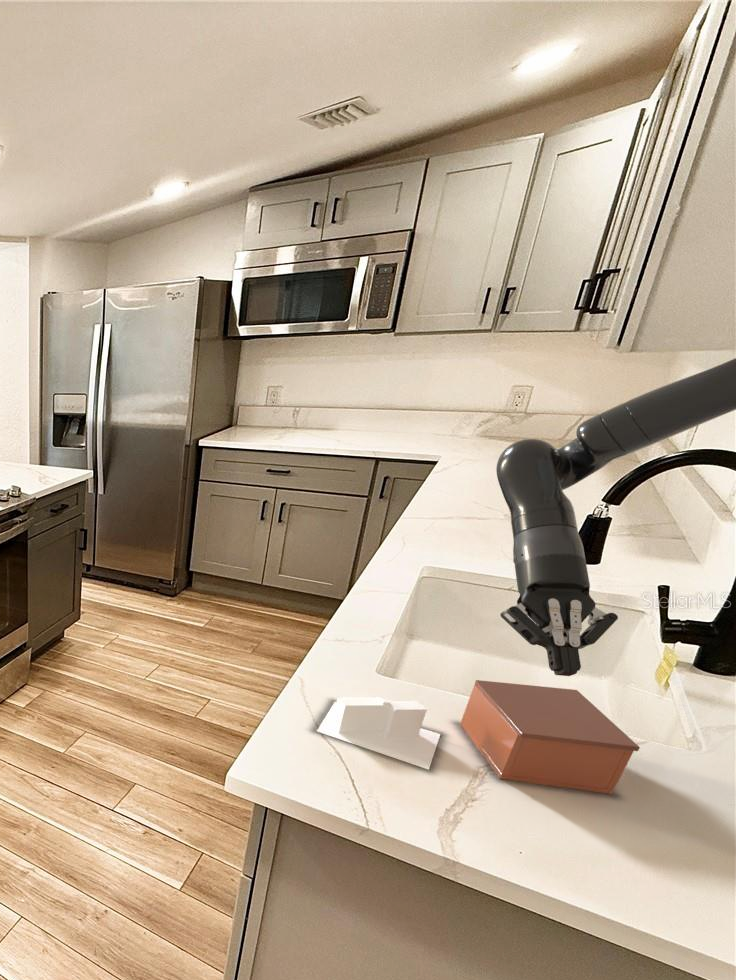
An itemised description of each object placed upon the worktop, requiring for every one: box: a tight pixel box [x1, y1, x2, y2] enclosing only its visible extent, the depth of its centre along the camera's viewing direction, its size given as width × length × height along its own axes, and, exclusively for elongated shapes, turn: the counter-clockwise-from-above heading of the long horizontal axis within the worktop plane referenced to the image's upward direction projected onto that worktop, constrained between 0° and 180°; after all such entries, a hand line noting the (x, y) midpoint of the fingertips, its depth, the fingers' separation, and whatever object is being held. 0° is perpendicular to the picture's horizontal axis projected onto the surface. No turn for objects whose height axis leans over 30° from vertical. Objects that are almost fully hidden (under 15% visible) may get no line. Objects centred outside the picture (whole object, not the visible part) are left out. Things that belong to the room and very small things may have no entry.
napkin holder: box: [316, 696, 441, 771], centre depth 98 cm, size 15×11×6 cm
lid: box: [474, 679, 641, 752], centre depth 89 cm, size 14×13×1 cm
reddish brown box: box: [459, 683, 634, 795], centre depth 91 cm, size 14×13×8 cm
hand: (566, 674), depth 86 cm, fingers closed
